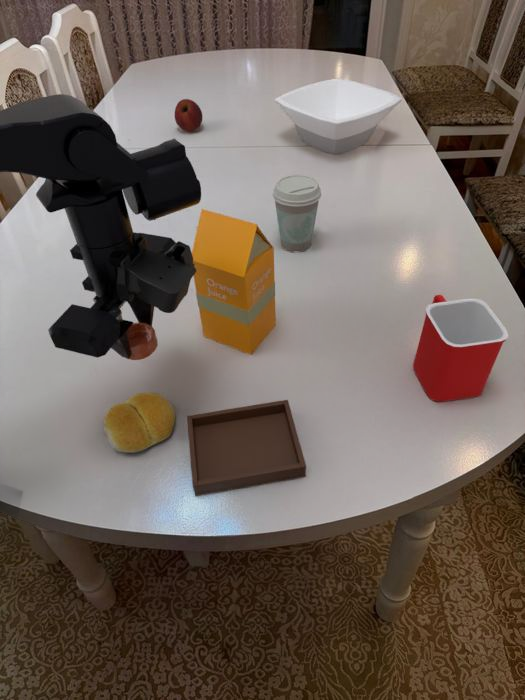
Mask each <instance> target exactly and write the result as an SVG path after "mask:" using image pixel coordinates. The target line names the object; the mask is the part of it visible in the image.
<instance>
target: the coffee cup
mask: <svg viewBox="0 0 525 700" xmlns="http://www.w3.org/2000/svg"><path fill="white" fill-rule="evenodd" d="M321 197H322V189H321V187H320V184H319V181H318V180H317V179H316V178H314V177H313V176H310V175H307V174H289V175H285V176H282V177H280V178H279V179H278V180H277V181H276V182H275V185H274V188H273V190H272V198H273V199H274V205H275V211H276V218H277V225H278V232H279V233H278V234H279V238H280V245H281V247H282V248H283V249H284V250H286V251H289V252H295V253H297V252H304V251H306V250H309V248H311V246H312V242H313V237H314V232H315V225H316V220H317V215H318V214H317V213H318V208H319V201H320V199H321Z"/></svg>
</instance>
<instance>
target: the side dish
mask: <svg viewBox="0 0 525 700" xmlns="http://www.w3.org/2000/svg"><path fill="white" fill-rule="evenodd" d="M127 336H128V340H129V345H130V350H131V357H130V358H125V359H127V360H131V361H140V360H145V359H146V358H149V357H150V356H151V355H153V353H155V352H156V349H157V348H158V346H159V343H158V341H159V340H158V337H157V333H156V330H155V328H154V327H153V325H152V326H151V325H149V324H147V323H140V322H138V321H137V322H133V324H132V325H131V327H130V328H129V329H128V331H127Z"/></svg>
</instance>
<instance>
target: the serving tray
mask: <svg viewBox="0 0 525 700" xmlns="http://www.w3.org/2000/svg"><path fill="white" fill-rule="evenodd" d="M186 421H187V431H188V432H187V433H188V447H189V457H190V468H191V469H190V470H191V481H192V482H191V483H192V488H193V492H194V495H195V496H197V497H198V496H203V495H210V494H214V493H219V492H226V491H231V490H237V489H243V488H249V487H255V486H259V485H265V484H272V483H277V482H283V481H289V480H293V479H294V480H295V479H300V478H306V476H307V475H306V471H307V465H306V461H305V458H304V454H303V451H302V446H301V443H300V439H299V436H298V432H297V429H296V425H295V421H294V417H293V413H292V410H291V406H290V403H289V399H284V400H277V401H269V402H264V403H259V404H252V405H246V406H240V407H233V408H227V409H220V410H215V411H208V412H203V413H197V414H190V415H187V416H186Z"/></svg>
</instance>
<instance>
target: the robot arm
mask: <svg viewBox="0 0 525 700" xmlns="http://www.w3.org/2000/svg"><path fill="white" fill-rule="evenodd" d="M116 137H117V136H116V134H115V132H114V130H113V128H112V127H111V125H110V123H108V122H107V120H105V119H104V118H103V117H102V116H100V115H99V114H98V113H97V112H96V111H94V110H93V109H92V108H91V107H89V106H88V105H87V104H86V103H84V102H83V101H81V100H80V99H79V98H77V97H75V96H72V95H71V94H70V95H69V94H63V93H59V94H51V95H47V96H42V97H37V98H32V99H27V100H24V101H20V102H17V103H15V104H13V105H11V106H9V107H7V108H4V109H1V110H0V173H16V174H25V175H28V176H33V177H38V178H40V179H45V180H44V182H43V184H42V185H41V186H40V187H39V188H38V190H37V192H36V193H35V196H36V198H37V200H38V201H39V202H40V203H41V205H42V206H43V207H44V209H45V210H46V211H47V212H48V213H49V214H50V213H51V214H52V213H54V212H58V211H61V210H64V211H65V214H66V217H67V219H68V222H69V225H70V228H71V231H72V233H73V236H74V239H75V243H76V244H75V245H74V246H73V247H71V249H69V252H70V254H71V257H72V259H74V260H78V261H82V262H83V265H84V267H85V270H86V274H87V276H86V277H85V279H84V280H82V282H81V283H82V287H83V289H84V291H88V292H92V293H94V294H95V296H94V297H93V298H92V301H93V304H92V306H91V307H88V306H83V305H77V304H73V303H71V305H70V306H69V307H67V309H66V310H65V311H64V312H63V313H62V314H61V315H60V316H59V317H58V319H56V320H55V321H54V323H53V324H52V325H51V326H50V327H49V328H48V329H47V331H48V334H49V337H50V339H51V341H52V343H53V345H54V348H56V349H61V350H64V351H69V352H73V353H77V354H81V355H85V356H90V357H93V358H101V357H104V356H106V355H107V354H108V352H109V351H110V350H111V349H112V350H113V351H114V352H116V354H118V355H119V356H120V357H122V358H125V359H126V358H130V357H131V350H130V345H129V340H128V336H127V331H128V329H129V328H130V327H131V325H132V324H133V323H134V321H132V320H127V319H124V318H123V315H122V314H123V312H122V310H121V308H123V306H124V305H125V303H126V302H127V303H128V305H129V307H130V308H131V310H132V313H133V314H134V317H135V318H136V320H137V323H138V322H140V323H147V324H149V325H151V326H152V327H153V320H154V314H155V313H154V312H155V308H156V309H158V310H159V311H160V312H162V313H164V314H171V313H174V312H176V310H177V309H178V307H179V306H180V304H181V302H182V301H183V299H184V298H185V297H186V296H187V295H188V292H189V288H190V284H191V281H192V278H194V274H195V273H196V268H195V267H194V265H195V264H193V256H192V250H191V249H192V248H191V247H190V245H188V244H186V243H185V242H183V241H180V240H179V241H175V240H174V239H173V238H172V237H168V236H162V235H156V234H150V233H144V232H134V231H133V227H132V223H131V219H130V215H129V211H128V207H129V209H130V210H131V212H132V213H133V214H134V215H136V216H138V215H140V214H141V215H142V216H143V218H145V219H146V220H147V221H148V222H150V221H154V220H157V219H160V218H163V217H166V216H168V215H171V214H174V213H177V212H179V211H182V210H185V209H188V208H191V207H193V206H194V207H195V206H196V205H198V204H200V202H201V200H202V186H201V181H200V180H199V179H198V177H197V174H196V171H195V168H194V167H193V164H192V162H191V161H190V159H189V157H188V156H187V150H186V145H184V144H183V143H181V142H180V141H178V140H177V139H176V138H172V139H169V140H166V141H163V142H162V143H159V144H158V145H156V146H155V145H154V146H152V147H149V148H146V149H143V150H139V151H136V152H132V153H130V152H129V151H128V150H127V149H126V148H124V147H123V146H122V145H121V144H120V143H119V142H117V138H116ZM127 206H128V207H127Z"/></svg>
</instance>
